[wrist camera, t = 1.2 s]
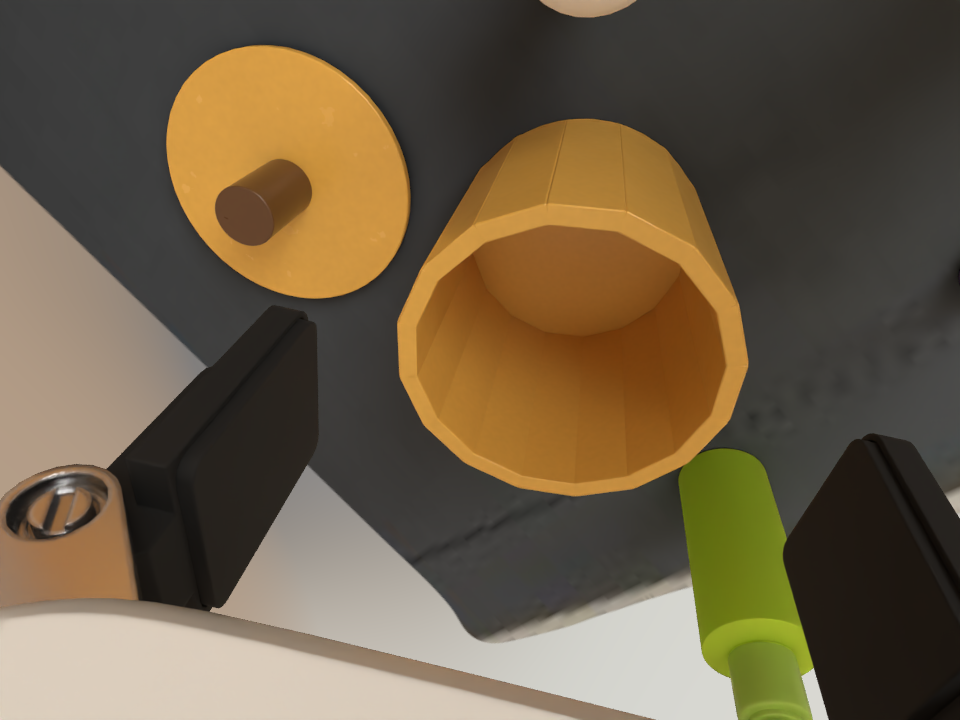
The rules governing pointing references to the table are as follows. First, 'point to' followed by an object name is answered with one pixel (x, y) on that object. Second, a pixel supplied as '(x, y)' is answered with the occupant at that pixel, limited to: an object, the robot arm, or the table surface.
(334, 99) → the tin lid
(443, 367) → the tin
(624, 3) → the lightbulb
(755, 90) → the table surface
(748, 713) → the soap dispenser
